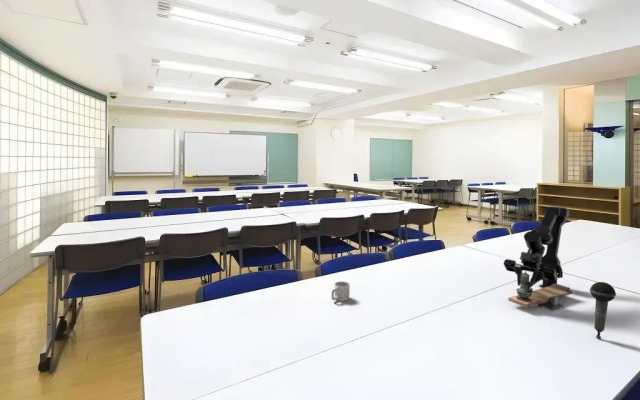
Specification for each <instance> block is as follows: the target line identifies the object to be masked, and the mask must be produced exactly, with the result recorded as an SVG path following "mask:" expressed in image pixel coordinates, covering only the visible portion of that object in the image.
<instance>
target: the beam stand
mask: <svg viewBox="0 0 640 400" xmlns="http://www.w3.org/2000/svg"><path fill="white" fill-rule="evenodd" d="M529 290H531V291H534V288H532V287H531V288H529ZM538 306H539V307H541V308H543V307H544V309H547V310H549V311H552V312H553V311H557V310H560V309H563V308H564V307H565V305H564V304H561V303H559V298H558V297H557V296H552V297H551V301H547V302H544V303H541V304H538V305H537V307H538Z"/></svg>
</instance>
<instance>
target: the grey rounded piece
mask: <svg viewBox="0 0 640 400" xmlns="http://www.w3.org/2000/svg"><path fill="white" fill-rule="evenodd" d="M522 273H523V272H522ZM520 282H521V284H520V285H519V288H516V294H517V295H519V296H518V297H517V299H518V300H520V301H524V302H530V301H531V299H530V298H529V297H530V296H531V295H532V293H533V292H532V291H531V290H529V288H528V284H529V282H530V274H528V273H527V271H524V273H523V274H522V275H521V281H520Z"/></svg>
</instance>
